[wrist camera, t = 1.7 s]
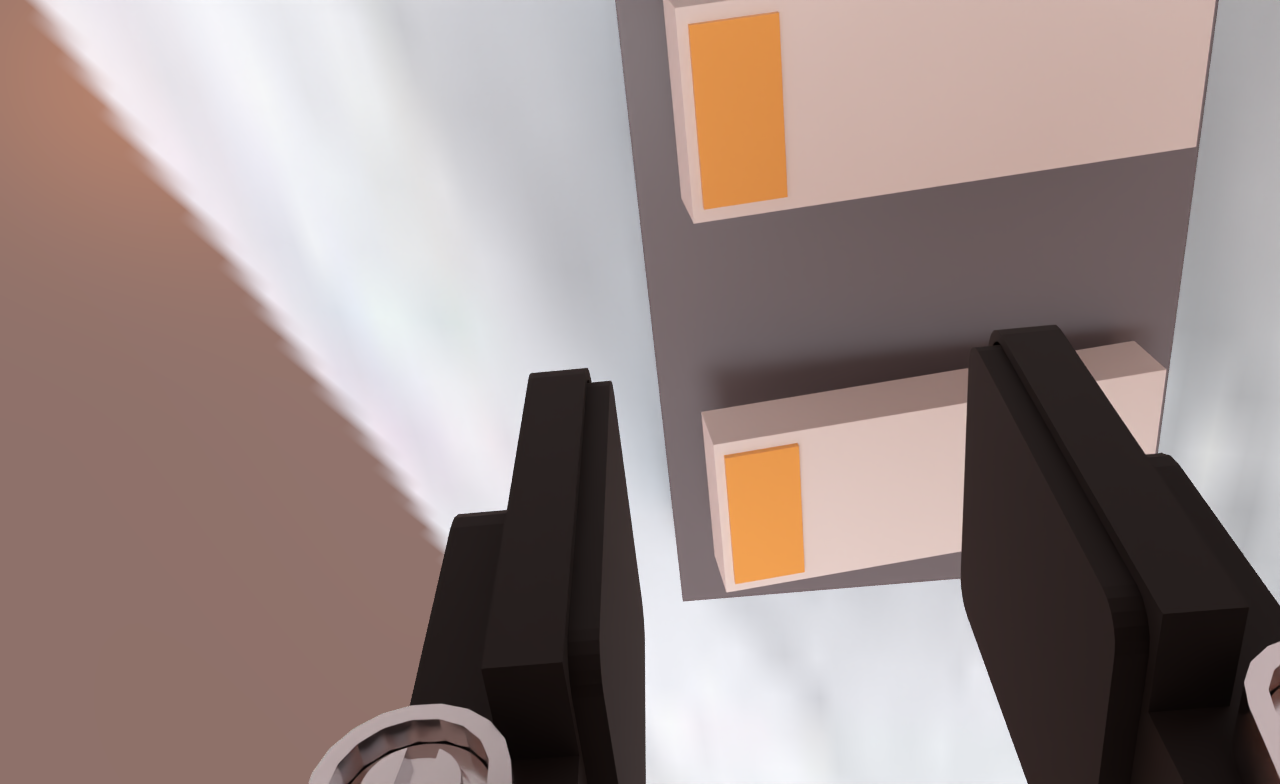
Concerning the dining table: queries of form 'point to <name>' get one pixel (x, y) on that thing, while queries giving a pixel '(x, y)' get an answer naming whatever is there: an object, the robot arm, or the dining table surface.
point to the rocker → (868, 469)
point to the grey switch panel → (879, 288)
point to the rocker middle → (920, 93)
